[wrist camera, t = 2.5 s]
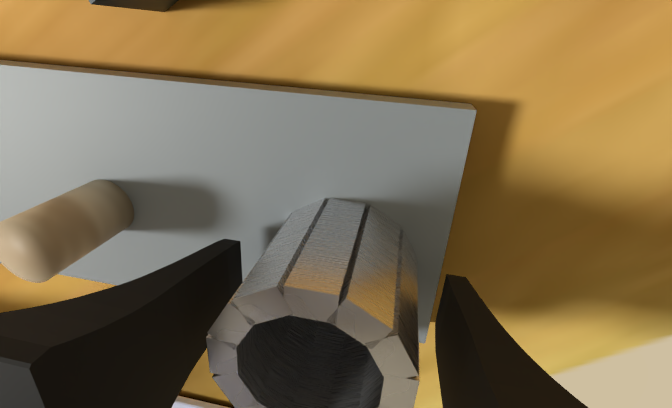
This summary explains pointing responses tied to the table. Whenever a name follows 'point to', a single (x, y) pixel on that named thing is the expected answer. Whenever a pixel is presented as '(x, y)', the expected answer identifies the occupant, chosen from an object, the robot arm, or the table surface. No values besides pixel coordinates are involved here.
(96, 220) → the post
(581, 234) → the table surface
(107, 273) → the board
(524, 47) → the table surface
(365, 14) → the table surface
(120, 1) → the watch
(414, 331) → the gray hollow cylinder
